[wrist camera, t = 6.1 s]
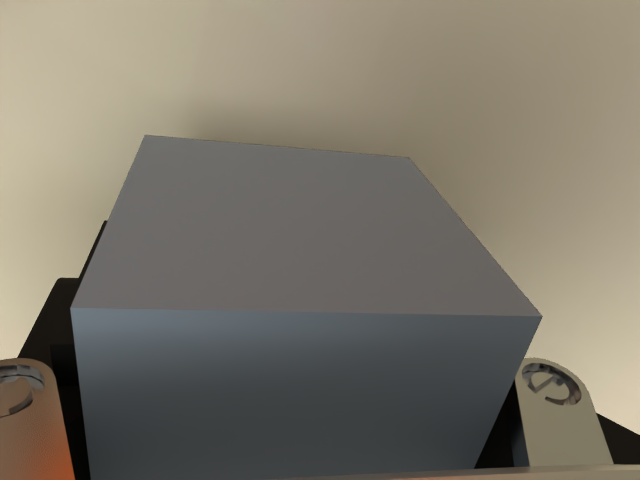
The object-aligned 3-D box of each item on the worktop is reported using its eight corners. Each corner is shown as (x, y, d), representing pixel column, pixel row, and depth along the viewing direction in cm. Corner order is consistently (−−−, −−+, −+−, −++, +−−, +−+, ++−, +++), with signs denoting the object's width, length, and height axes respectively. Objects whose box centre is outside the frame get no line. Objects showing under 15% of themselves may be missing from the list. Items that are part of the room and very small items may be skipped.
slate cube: (409, 157, 12) (542, 316, 7) (362, 348, 15) (433, 560, 10) (145, 134, 11) (70, 308, 6) (150, 347, 14) (103, 589, 9)
